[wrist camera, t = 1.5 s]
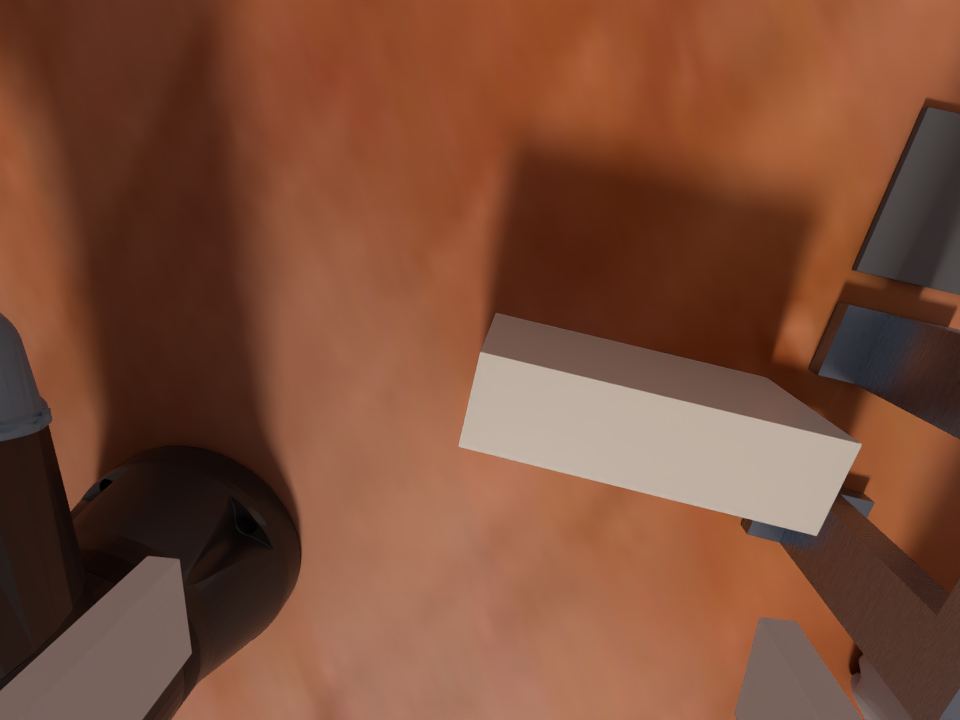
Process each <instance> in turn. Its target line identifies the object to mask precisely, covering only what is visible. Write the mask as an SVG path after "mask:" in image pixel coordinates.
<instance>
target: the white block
mask: <svg viewBox="0 0 960 720" xmlns="http://www.w3.org/2000/svg"><path fill="white" fill-rule="evenodd" d="M861 445H862V444H861V443H860V442H858V441H857V440H855V439H854V438H852V437H851V436H850V435H849V434H848V432H846V431H845V430H841V429H840V428H838V427H837V426H835V425H834V424H832V423H831V422H830V421H828V420H827V419H825V418H824V417H822V416H821V415H820V414H818V413H817V412H815V411H814V410H812V409H811V408H810V407H808V406H807V405H805V404H804V403H802V402H801V401H799V400H798V399H797V398H795V397H794V396H792V395H791V394H789V393H788V392H787V391H785V390H784V389H782V388H781V387H779V386H778V385H777V384H775V383H774V382H772V381H771V380H769V379H768V378H767V377H763V376H759V375H755V374H751V373H746V372H742V371H738V370H734V369H730V368H725V367H721V366H717V365H713V364H709V363H705V362H700V361H696V360H692V359H688V358H684V357H679V356H675V355H671V354H667V353H663V352H658V351H654V350H650V349H646V348H642V347H638V346H633V345H629V344H625V343H621V342H617V341H612V340H608V339H604V338H600V337H596V336H591V335H587V334H583V333H579V332H575V331H571V330H566V329H562V328H558V327H554V326H550V325H545V324H541V323H537V322H533V321H529V320H524V319H520V318H516V317H512V316H508V315H504V314H499V313H495V316H494V319H493V321H492V324H491V326H490V329H489V331H488V334H487V336H486V339H485V341H484V344H483V346H482V349H481V351H480V355H479V360H478V364H477V368H476V373H475V377H474V382H473V386H472V390H471V395H470V399H469V403H468V408H467V412H466V416H465V421H464V425H463V429H462V434H461V438H460V442H459V447H462V448H466V449H470V450H474V451H478V452H482V453H486V454H490V455H494V456H498V457H502V458H506V459H510V460H514V461H518V462H522V463H526V464H530V465H534V466H538V467H542V468H546V469H550V470H554V471H558V472H562V473H566V474H570V475H574V476H578V477H582V478H586V479H590V480H594V481H598V482H602V483H606V484H610V485H614V486H618V487H622V488H626V489H630V490H634V491H638V492H642V493H646V494H650V495H654V496H658V497H662V498H666V499H670V500H674V501H678V502H682V503H686V504H690V505H694V506H698V507H702V508H706V509H710V510H714V511H718V512H722V513H726V514H730V515H734V516H738V517H742V518H746V519H750V520H754V521H758V522H762V523H766V524H770V525H774V526H778V527H782V528H786V529H790V530H794V531H798V532H802V533H806V534H810V535H814V536H817V535H818V533H819V531H820V529H821V527H822V525H823V523H824V521H825V519H826V517H827V515H828V512H829V510H830V508H831V506H832V504H833V502H834V500H835V498H836V496H837V494H838V492H839V490H840V488H841V486H842V484H843V482H844V480H845V478H846V476H847V474H848V472H849V470H850V468H851V466H852V464H853V462H854V460H855V458H856V456H857V454H858V452H859V450H860V448H861Z"/></svg>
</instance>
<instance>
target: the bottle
mask: <svg viewBox="0 0 960 720" xmlns="http://www.w3.org/2000/svg"><path fill="white" fill-rule="evenodd" d="M859 666H860V671H861V673H855V674H854V675H853V676H852V678H851V688H852V692H853V695H854V698H855V700H856V702H857V704H858V706H859V708H860V710H861V712H862V714H863V715H864V717H865V719H866V720H913V719H912V718H911V717H910V715H909V714H908V713H907V711H906V710H905V709H904V707H903V706H902V705H901V703H900V702H899V701H898V699H897V698H896V697H895V695H894V694H893V693H892V691H891V690H890V689H889V687H888V686H887V685H886V683H885V682H884V681H883V679H882V678H881V677H880V675H879V674H878V673H877V671H876V670H875V669H874V667H873V666H872V665H871V663H870V662H869V661H868V659H867V658H866V657H865V655H864V654H863V655H862V656H861V657H860V658H859Z"/></svg>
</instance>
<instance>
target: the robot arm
mask: <svg viewBox="0 0 960 720" xmlns="http://www.w3.org/2000/svg"><path fill="white" fill-rule="evenodd" d="M51 421H52V416H51V409H50V408H49V407H48V405H47V402H46V401H45V400H44V399H43V398H42V397H41V396H40V395H39V392H38V389H37V386H36V382H35V379H34V376H33V373H32V370H31V367H30V364H29V361H28V358H27V355H26V352H25V349H24V345H23V342H22V339H21V337H20V335H19V333H18V331H17V329H16V328H15V327H14V325H13V324H12V323H11V322H10V321H9V320H8V319H7V318H6V317H5V316H3V315H2V314H1V313H0V720H171V719H172V718H173V716H174V715H175V713H176V712H177V710H178V709H179V708H180V706H181V705H182V704H183V702H184V701H185V699H186V698H187V697H188V695H189V694H190V692H191V691H192V690H193V688H194V687H195V686H196V684H197V683H198V682H199V681H201V680H202V679H203V678H205V677H206V676H207V675H208V674H210V673H211V672H212V671H214V670H215V669H216V668H217V667H219V666H220V665H221V664H223V663H224V662H225V661H226V660H228V659H229V658H230V657H232V656H233V655H234V654H235V653H237V652H238V651H239V650H240V649H242V648H243V647H244V646H245V645H246V644H248V643H249V642H250V641H252V640H253V639H254V638H256V637H257V636H258V635H260V634H261V633H262V632H263V631H264V630H265V629H266V628H267V627H268V626H269V625H270V624H271V623H272V622H273V620H274V619H275V618H276V616H277V615H278V613H279V612H280V610H281V609H282V607H283V606H284V604H285V602H286V601H287V599H288V598H289V596H290V595H291V593H292V591H293V589H294V587H295V585H296V582H297V579H298V575H299V570H300V547H299V541H298V537H297V534H296V531H295V528H294V525H293V523H292V520H291V518H290V516H289V514H288V513H287V511H286V509H285V507H284V506H283V505H282V503H281V502H280V500H279V499H278V498H277V496H276V495H275V494H274V493H273V492H272V490H271V489H270V488H269V487H268V486H267V485H266V484H265V483H264V482H263V481H262V480H260V479H259V478H258V477H257V476H256V475H254V474H253V473H252V472H251V471H249V470H248V469H246V468H245V467H243V466H242V465H240V464H238V463H237V462H235V461H233V460H231V459H229V458H227V457H224V456H222V455H219V454H217V453H214V452H211V451H207V450H204V449H199V448H193V447H185V446H168V447H160V448H155V449H151V450H148V451H145V452H142V453H140V454H138V455H136V456H134V457H132V458H130V459H129V460H127V461H126V462H124V463H122V464H121V465H119V466H117V467H116V468H114V469H112V470H111V471H109V472H108V473H106V474H105V475H104V476H102V477H101V478H100V479H99V480H98V481H96V482H95V483H94V484H93V485H92V486H91V488H90V489H89V490H88V491H87V492H86V494H85V495H84V496H83V498H82V499H81V500H80V502H79V503H78V504H77V505H76V506H75V507H74V508H73V510H72V511H71V512H70V508H69V504H68V500H67V496H66V492H65V488H64V484H63V480H62V476H61V472H60V468H59V465H58V461H57V457H56V453H55V449H54V445H53V441H52V437H51V433H50V429H49V425H48V424H50V423H51ZM735 716H736V718H737V720H863V719H862V718H861V716H860V715H859V713H858V712H857V710H856V709H855V707H854V706H853V704H852V703H851V702H850V700H849V699H848V697H847V696H846V694H845V693H844V691H843V690H842V688H841V687H840V685H839V684H838V682H837V681H836V679H835V678H834V676H833V675H832V674H831V672H830V671H829V669H828V668H827V666H826V665H825V663H824V662H823V660H822V659H821V657H820V656H819V654H818V653H817V651H816V650H815V648H814V647H813V645H812V644H811V643H810V641H809V640H808V638H807V637H806V635H805V634H804V632H803V631H802V629H801V628H800V626H799V625H798V623H797V622H796V621H792V620H782V619H772V618H762V617H759V621H758V625H757V629H756V633H755V637H754V640H753V644H752V648H751V652H750V656H749V660H748V664H747V668H746V672H745V676H744V680H743V683H742V687H741V691H740V695H739V699H738V703H737V707H736V711H735Z"/></svg>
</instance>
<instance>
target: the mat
mask: <svg viewBox="0 0 960 720" xmlns="http://www.w3.org/2000/svg"><path fill="white" fill-rule="evenodd" d="M852 270H854V271H859V272H863V273H867V274H872V275H876V276H880V277H885V278H889V279H894V280H898V281H902V282H907V283H911V284H915V285H920V286H924V287H928V288H933V289H937V290H941V291H946V292H950V293H954V294H959V295H960V114H959V113H954V112H949V111H945V110H940V109H936V108H931V107H927V108H923V109H922V111H921V113H920V115H919V118H918V120H917V122H916V125H915V127H914V129H913V131H912V134H911V136H910V138H909V141H908V143H907V145H906V147H905V150H904V152H903V154H902V157H901V159H900V161H899V163H898V166H897V168H896V170H895V173H894V175H893V177H892V179H891V182H890V184H889V186H888V189H887V191H886V193H885V195H884V198H883V200H882V202H881V205H880V207H879V209H878V211H877V214H876V216H875V218H874V221H873V223H872V225H871V227H870V230H869V232H868V234H867V237H866V239H865V241H864V243H863V246H862V248H861V250H860V253H859V255H858V257H857V260H856V262H855V264H854V266H853V269H852Z"/></svg>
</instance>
